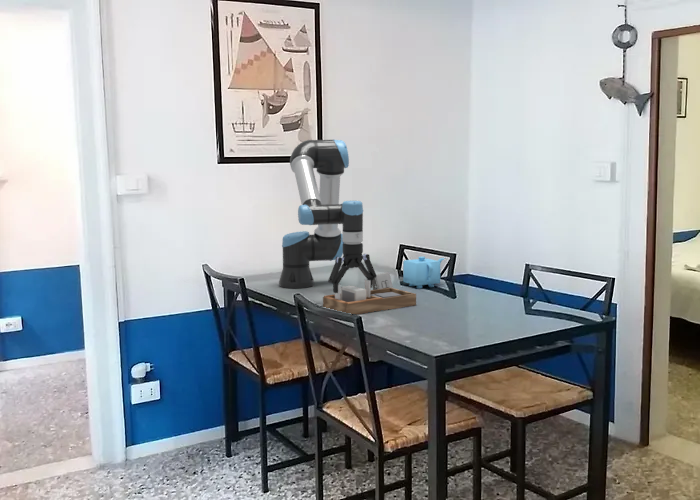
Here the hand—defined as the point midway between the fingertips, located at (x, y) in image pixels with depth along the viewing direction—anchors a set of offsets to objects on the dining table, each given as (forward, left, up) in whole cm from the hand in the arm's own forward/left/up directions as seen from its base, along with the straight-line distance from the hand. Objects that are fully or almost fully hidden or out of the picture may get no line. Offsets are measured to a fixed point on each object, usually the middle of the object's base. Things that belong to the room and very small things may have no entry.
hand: (352, 299), depth 285 cm
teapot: (-21, +54, -4) cm, 58 cm away
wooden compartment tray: (0, +8, -4) cm, 9 cm away
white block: (0, 0, -4) cm, 4 cm away
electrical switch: (-15, +25, -4) cm, 29 cm away
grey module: (+1, +15, -4) cm, 16 cm away
